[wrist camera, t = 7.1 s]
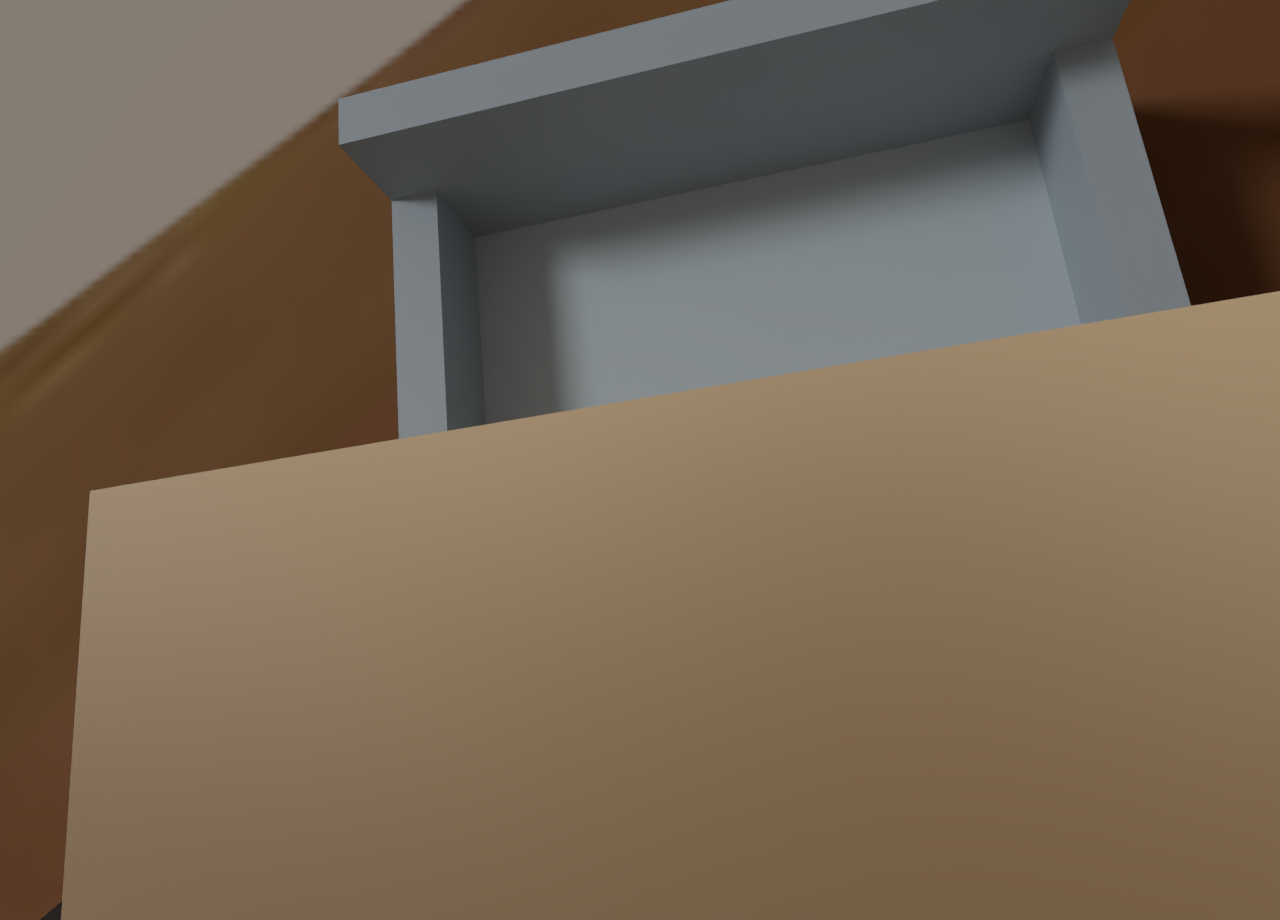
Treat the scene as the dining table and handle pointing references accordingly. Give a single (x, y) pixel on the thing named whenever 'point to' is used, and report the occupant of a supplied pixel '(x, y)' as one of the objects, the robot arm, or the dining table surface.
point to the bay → (757, 199)
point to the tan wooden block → (716, 653)
